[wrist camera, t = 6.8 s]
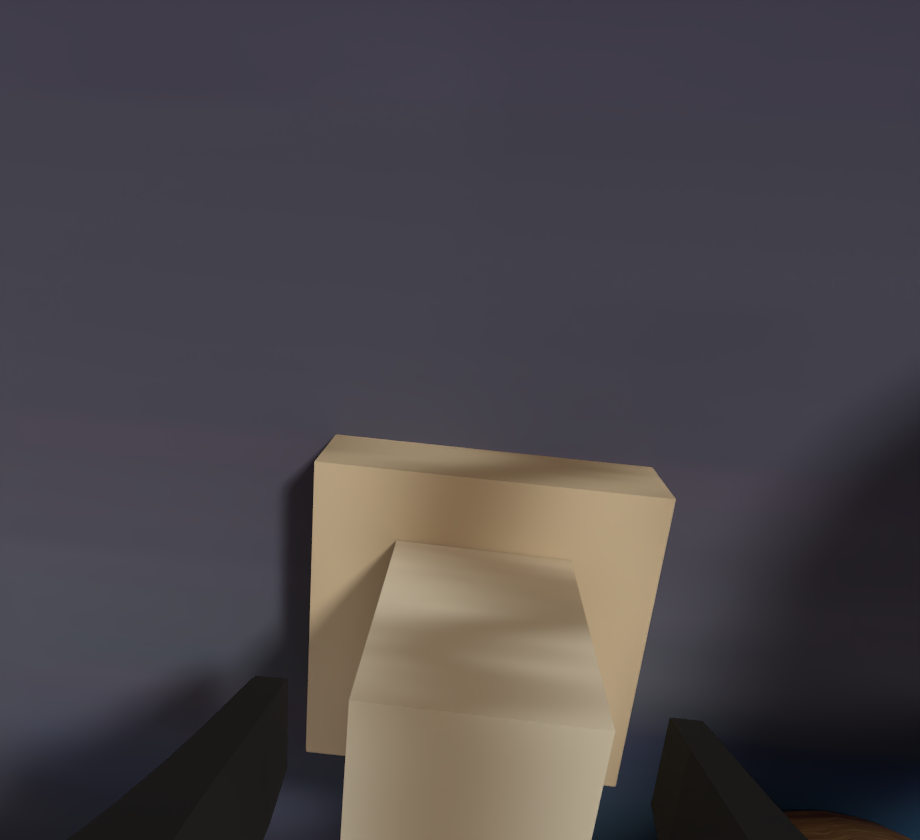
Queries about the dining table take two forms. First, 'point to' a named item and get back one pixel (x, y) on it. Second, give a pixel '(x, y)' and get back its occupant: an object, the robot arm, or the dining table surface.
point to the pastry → (839, 827)
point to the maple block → (476, 703)
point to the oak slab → (481, 528)
